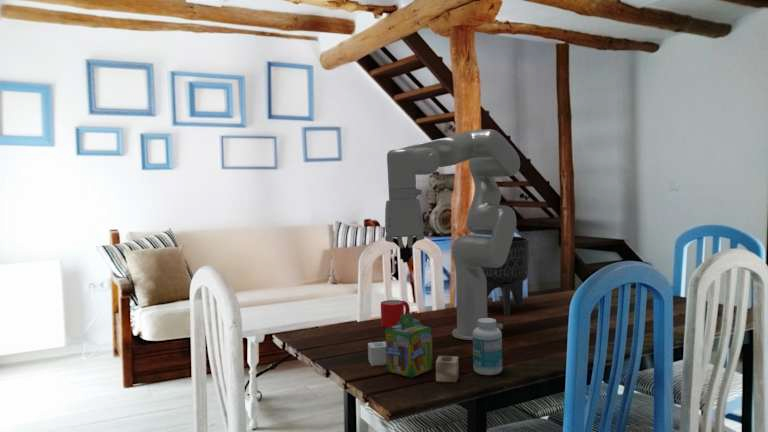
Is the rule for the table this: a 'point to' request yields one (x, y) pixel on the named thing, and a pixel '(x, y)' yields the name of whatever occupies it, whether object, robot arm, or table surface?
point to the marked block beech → (447, 369)
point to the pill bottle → (487, 347)
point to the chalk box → (408, 348)
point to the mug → (392, 312)
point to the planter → (510, 274)
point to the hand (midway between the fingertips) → (406, 261)
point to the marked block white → (377, 353)
